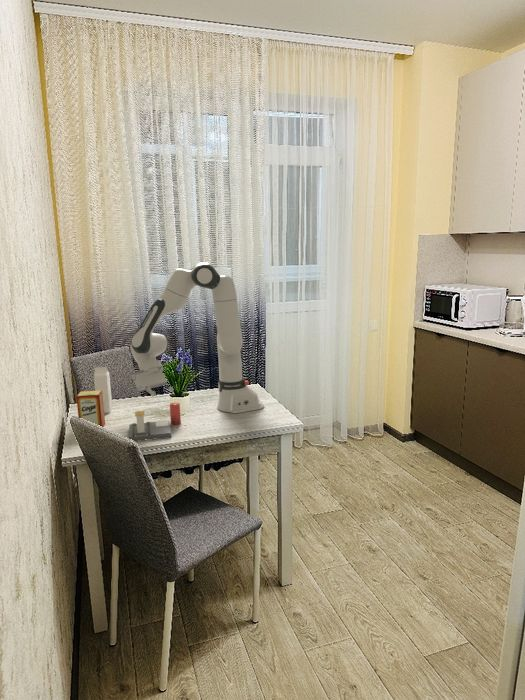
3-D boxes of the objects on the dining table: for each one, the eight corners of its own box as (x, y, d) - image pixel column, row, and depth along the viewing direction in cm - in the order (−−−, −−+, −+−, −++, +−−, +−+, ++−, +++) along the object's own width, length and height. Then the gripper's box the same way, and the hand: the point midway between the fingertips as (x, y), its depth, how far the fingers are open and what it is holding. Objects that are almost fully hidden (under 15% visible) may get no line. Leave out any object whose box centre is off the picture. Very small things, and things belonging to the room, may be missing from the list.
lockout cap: (180, 421, 224) (179, 402, 222) (181, 424, 220) (180, 405, 218) (170, 422, 223) (169, 403, 221) (171, 425, 219) (170, 406, 217)
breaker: (146, 430, 208) (145, 410, 206) (146, 434, 203) (145, 414, 201) (135, 431, 207) (134, 411, 205) (135, 436, 202) (134, 415, 200)
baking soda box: (79, 430, 216) (76, 395, 212) (83, 424, 222) (80, 390, 218) (102, 429, 217) (98, 394, 213) (105, 423, 223) (102, 389, 219)
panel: (169, 424, 220) (168, 419, 220) (171, 437, 206) (170, 431, 205) (129, 428, 216) (129, 422, 216) (129, 441, 202) (128, 435, 201)
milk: (110, 413, 237) (106, 368, 232) (97, 413, 236) (92, 369, 231) (112, 409, 242) (108, 365, 237) (100, 409, 242) (96, 365, 237)
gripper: (132, 369, 221) (145, 394, 216) (171, 361, 235) (184, 384, 230) (128, 376, 225) (140, 402, 221) (166, 368, 239) (179, 392, 234)
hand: (163, 393), depth 225 cm, fingers open, 8 cm apart
